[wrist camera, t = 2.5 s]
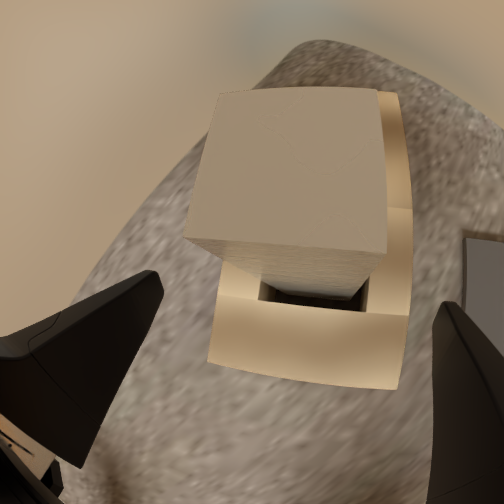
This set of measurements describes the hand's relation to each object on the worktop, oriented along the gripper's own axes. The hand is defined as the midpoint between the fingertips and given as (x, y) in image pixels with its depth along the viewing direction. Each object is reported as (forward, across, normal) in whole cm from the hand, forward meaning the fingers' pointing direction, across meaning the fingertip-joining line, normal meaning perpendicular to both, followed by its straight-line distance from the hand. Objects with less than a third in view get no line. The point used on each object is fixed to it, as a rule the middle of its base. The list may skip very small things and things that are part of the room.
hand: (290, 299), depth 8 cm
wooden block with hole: (+11, 0, +3) cm, 11 cm away
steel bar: (+9, 0, +5) cm, 10 cm away
